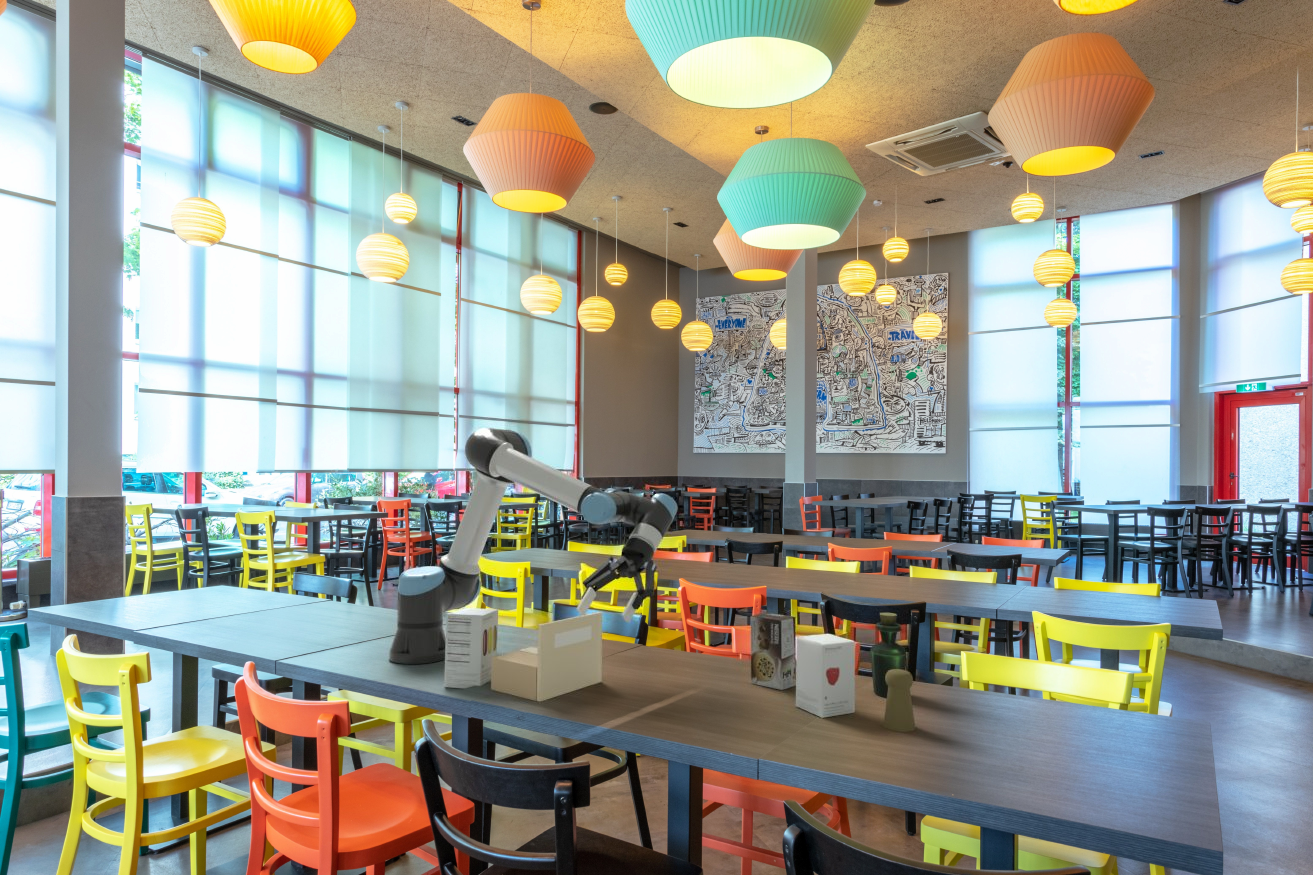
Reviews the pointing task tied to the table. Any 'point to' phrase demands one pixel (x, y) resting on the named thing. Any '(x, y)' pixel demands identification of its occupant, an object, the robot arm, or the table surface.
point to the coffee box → (773, 650)
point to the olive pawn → (899, 701)
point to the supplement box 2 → (825, 675)
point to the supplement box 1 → (470, 646)
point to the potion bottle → (886, 653)
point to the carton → (516, 673)
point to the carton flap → (569, 655)
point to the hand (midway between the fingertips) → (602, 615)
